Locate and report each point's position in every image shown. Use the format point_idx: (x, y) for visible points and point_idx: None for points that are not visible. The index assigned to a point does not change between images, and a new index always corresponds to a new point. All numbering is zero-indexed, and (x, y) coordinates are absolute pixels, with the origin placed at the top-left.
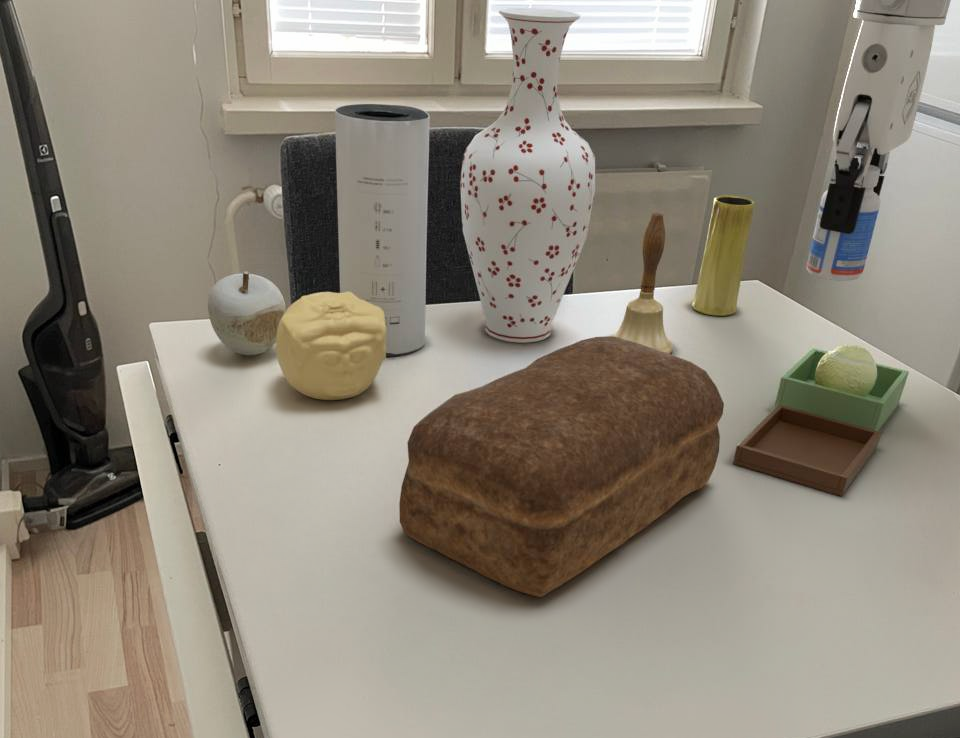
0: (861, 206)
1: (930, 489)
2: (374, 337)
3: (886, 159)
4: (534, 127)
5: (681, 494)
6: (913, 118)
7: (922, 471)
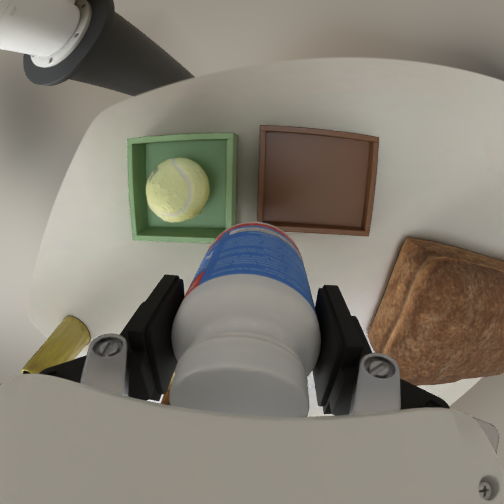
0: (312, 315)
1: (313, 72)
2: None
3: (105, 367)
4: None
5: (449, 246)
6: (4, 441)
7: (281, 82)
